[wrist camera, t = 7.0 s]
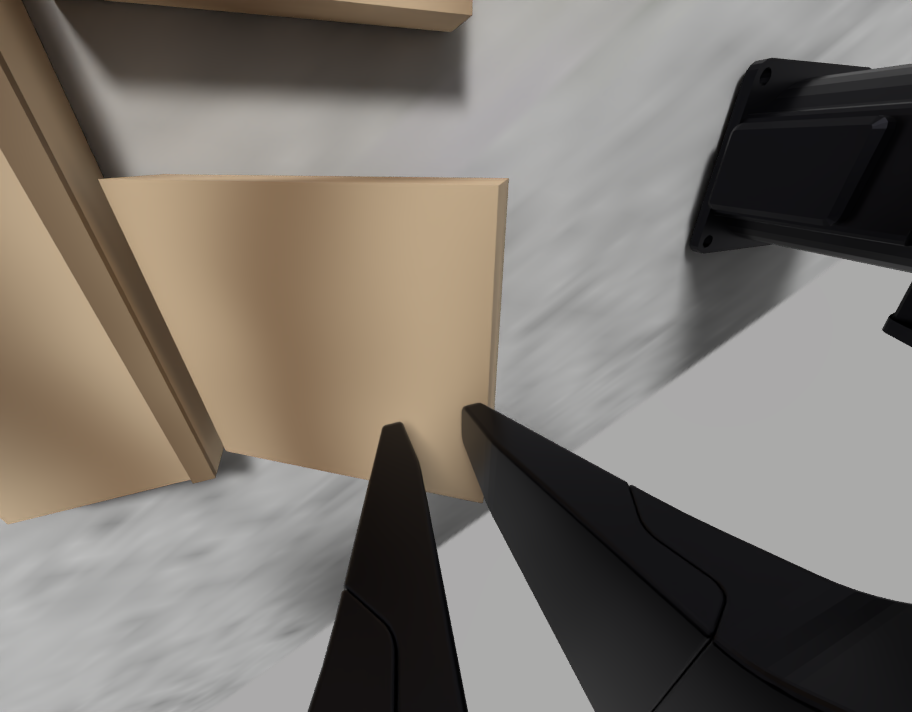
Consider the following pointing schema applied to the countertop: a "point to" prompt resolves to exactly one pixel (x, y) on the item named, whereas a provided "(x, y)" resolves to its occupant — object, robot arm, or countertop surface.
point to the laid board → (77, 318)
